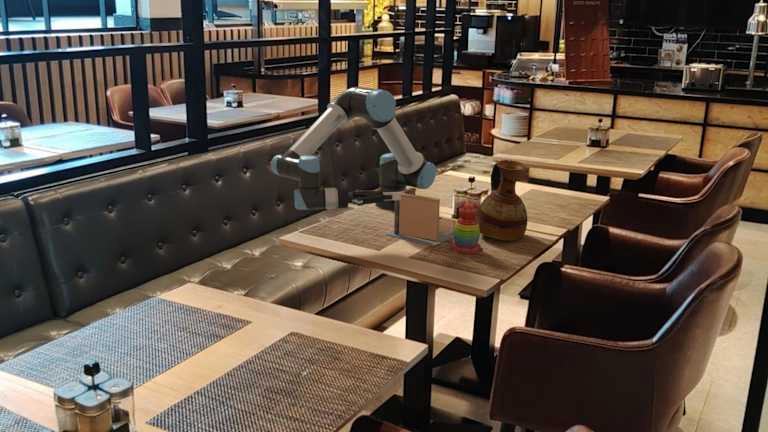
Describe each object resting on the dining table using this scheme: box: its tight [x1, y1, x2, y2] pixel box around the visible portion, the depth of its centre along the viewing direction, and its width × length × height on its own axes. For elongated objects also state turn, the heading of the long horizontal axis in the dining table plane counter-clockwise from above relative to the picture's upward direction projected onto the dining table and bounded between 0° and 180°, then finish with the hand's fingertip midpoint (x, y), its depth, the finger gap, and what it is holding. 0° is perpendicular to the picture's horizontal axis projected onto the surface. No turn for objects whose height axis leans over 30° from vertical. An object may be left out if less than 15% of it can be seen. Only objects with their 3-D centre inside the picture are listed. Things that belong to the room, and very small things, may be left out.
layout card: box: [385, 230, 454, 248], centre depth 285 cm, size 15×22×1 cm
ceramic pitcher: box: [475, 159, 528, 241], centre depth 282 cm, size 20×20×30 cm
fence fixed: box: [393, 187, 417, 234], centre depth 288 cm, size 12×2×16 cm, turn 143°
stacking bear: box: [450, 202, 482, 255], centre depth 268 cm, size 11×10×18 cm
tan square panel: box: [399, 193, 441, 241], centre depth 279 cm, size 16×2×16 cm, turn 61°
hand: (400, 195), depth 273 cm, fingers closed
